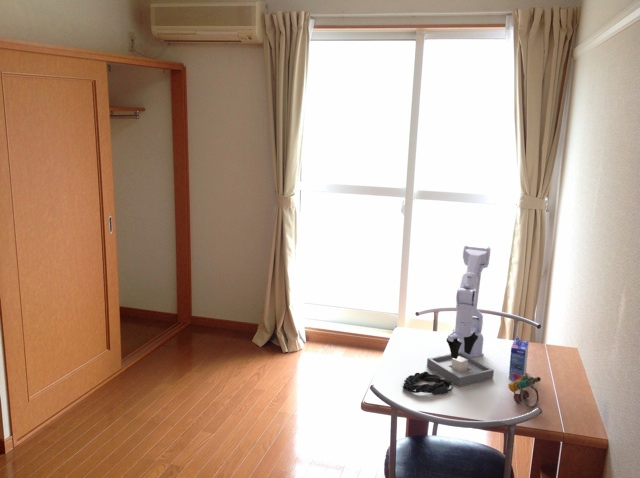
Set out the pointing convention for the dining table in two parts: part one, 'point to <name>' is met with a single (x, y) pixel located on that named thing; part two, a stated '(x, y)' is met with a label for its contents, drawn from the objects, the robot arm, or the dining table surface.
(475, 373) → the walled box
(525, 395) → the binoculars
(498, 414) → the dining table surface
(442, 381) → the cable
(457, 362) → the white rectangular block
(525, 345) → the ink cartridge box
